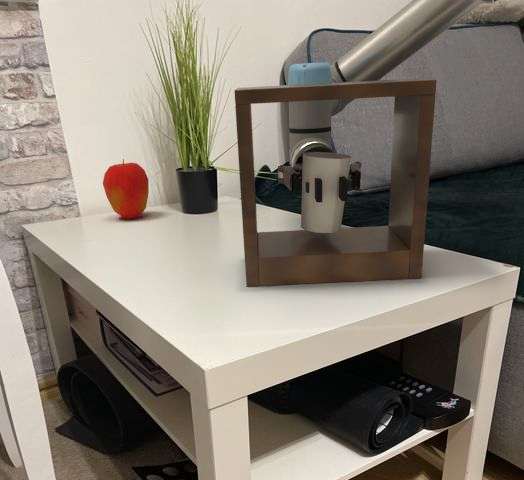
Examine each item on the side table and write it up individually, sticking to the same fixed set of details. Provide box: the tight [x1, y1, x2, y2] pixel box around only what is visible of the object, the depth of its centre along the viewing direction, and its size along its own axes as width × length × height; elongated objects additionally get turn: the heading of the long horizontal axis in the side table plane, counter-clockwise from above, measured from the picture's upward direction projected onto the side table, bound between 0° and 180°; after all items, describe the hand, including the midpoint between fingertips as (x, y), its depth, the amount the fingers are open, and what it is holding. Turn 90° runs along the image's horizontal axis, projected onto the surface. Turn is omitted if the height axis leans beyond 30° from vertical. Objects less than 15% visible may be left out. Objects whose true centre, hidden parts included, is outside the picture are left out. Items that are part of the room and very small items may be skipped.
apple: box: [102, 158, 150, 220], centre depth 120 cm, size 9×9×12 cm
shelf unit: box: [233, 78, 438, 288], centre depth 80 cm, size 24×14×25 cm, turn 91°
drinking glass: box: [300, 152, 352, 233], centre depth 81 cm, size 7×7×10 cm
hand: (332, 191), depth 75 cm, fingers closed on drinking glass, 3 cm apart
